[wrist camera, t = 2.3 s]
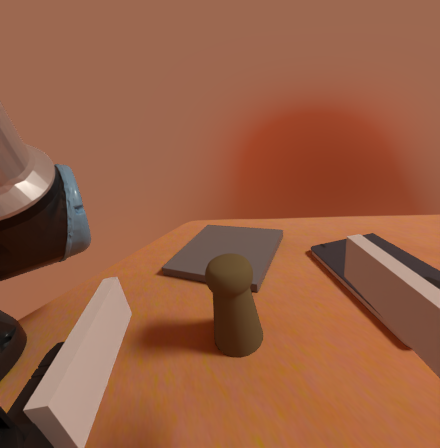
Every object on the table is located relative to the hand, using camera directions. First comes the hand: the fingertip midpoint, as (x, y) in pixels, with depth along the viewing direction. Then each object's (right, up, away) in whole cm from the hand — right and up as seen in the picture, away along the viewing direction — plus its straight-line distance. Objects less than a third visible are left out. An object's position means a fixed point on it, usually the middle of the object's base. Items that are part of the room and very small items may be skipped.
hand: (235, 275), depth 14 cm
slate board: (+1, -3, +33) cm, 34 cm away
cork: (+1, -11, +16) cm, 19 cm away
